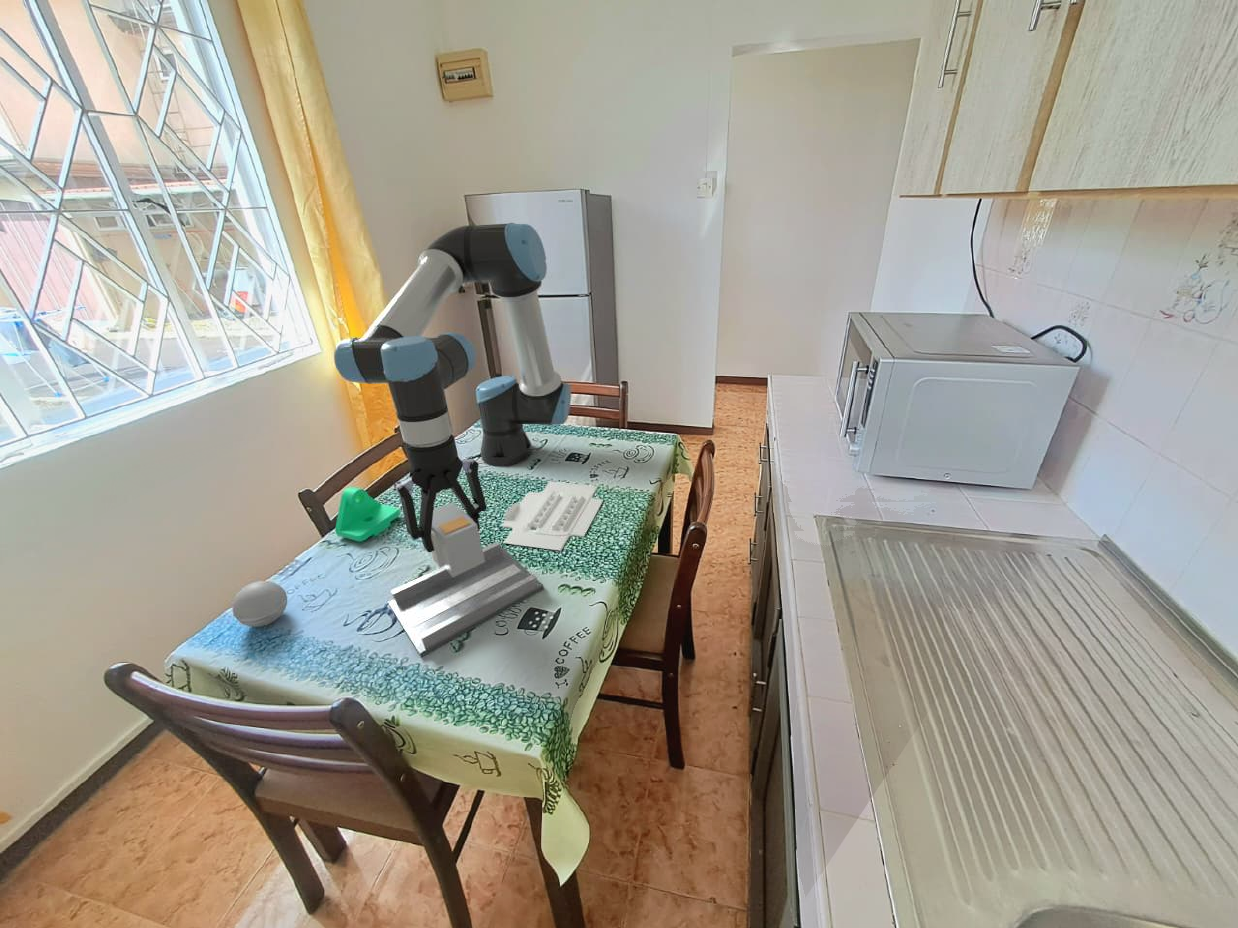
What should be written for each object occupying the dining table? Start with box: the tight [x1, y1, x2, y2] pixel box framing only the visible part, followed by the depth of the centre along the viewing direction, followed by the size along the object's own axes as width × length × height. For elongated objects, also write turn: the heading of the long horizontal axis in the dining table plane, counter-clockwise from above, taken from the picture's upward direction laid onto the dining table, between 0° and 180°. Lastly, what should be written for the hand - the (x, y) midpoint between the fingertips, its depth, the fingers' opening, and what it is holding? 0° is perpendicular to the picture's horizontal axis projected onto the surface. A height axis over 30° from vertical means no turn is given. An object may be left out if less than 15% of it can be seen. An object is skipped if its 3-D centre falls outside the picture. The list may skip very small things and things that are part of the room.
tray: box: [501, 481, 604, 552], centre depth 117 cm, size 20×28×4 cm
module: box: [431, 501, 485, 577], centre depth 86 cm, size 6×10×8 cm, turn 40°
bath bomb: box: [232, 580, 288, 628], centre depth 88 cm, size 8×8×8 cm
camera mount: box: [334, 486, 401, 542], centre depth 113 cm, size 12×8×10 cm, turn 157°
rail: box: [388, 541, 545, 658], centre depth 92 cm, size 24×16×3 cm, turn 130°
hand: (456, 554), depth 88 cm, fingers closed on module, 6 cm apart
